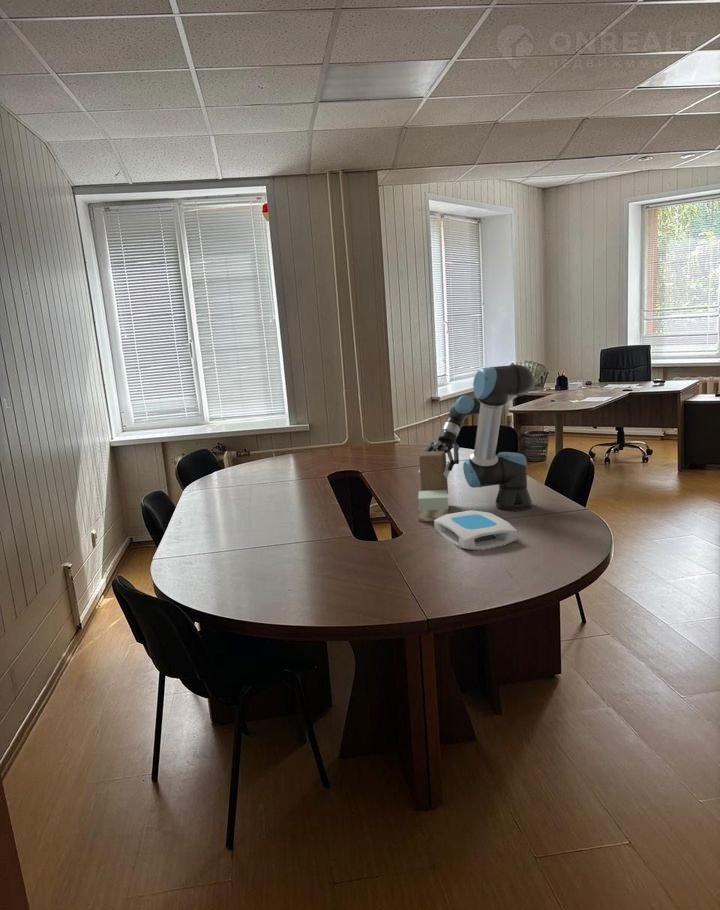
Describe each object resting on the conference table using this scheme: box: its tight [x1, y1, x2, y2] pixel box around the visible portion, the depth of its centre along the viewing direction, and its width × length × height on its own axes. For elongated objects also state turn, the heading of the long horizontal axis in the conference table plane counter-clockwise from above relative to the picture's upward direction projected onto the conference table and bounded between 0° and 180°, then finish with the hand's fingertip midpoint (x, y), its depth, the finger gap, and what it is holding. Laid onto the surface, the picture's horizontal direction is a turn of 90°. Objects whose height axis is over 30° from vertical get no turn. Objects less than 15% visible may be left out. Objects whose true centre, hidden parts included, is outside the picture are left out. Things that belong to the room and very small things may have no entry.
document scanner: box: [433, 510, 518, 551], centre depth 248 cm, size 21×28×6 cm
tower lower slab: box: [417, 507, 449, 522], centre depth 277 cm, size 12×12×5 cm
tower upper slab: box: [417, 490, 449, 510], centre depth 276 cm, size 12×12×5 cm
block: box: [418, 450, 449, 495], centre depth 289 cm, size 10×10×20 cm
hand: (432, 475), depth 289 cm, fingers closed on block, 12 cm apart
